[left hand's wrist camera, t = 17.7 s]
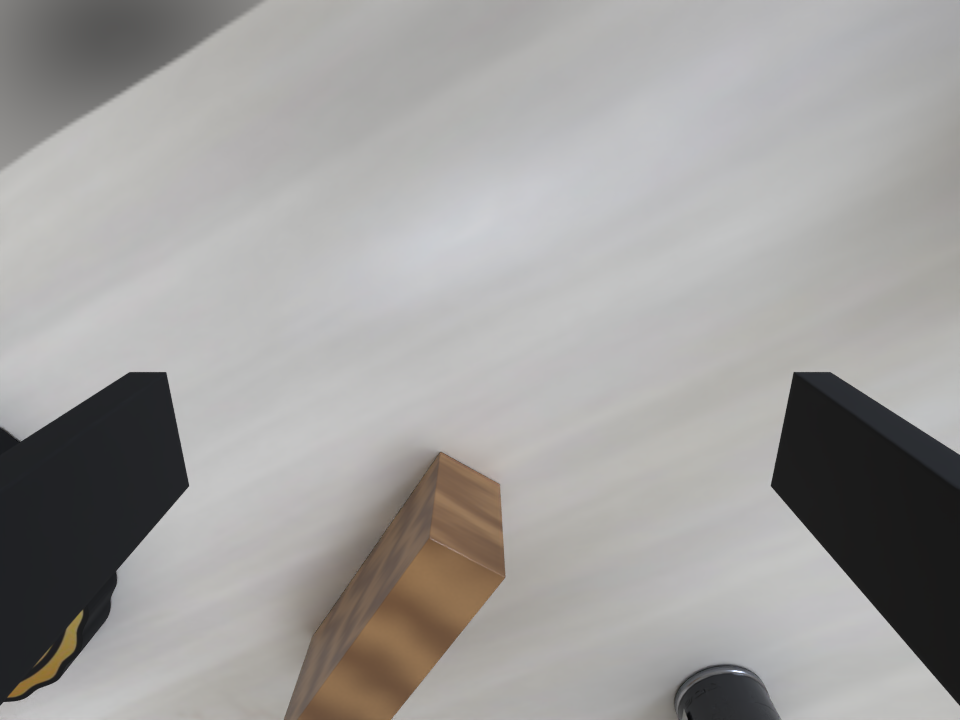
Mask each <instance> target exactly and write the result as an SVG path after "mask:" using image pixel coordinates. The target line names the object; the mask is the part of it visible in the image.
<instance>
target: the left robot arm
mask: <svg viewBox="0 0 960 720" xmlns="http://www.w3.org/2000/svg"><path fill="white" fill-rule="evenodd" d="M188 487H189V483H188V478H187V473H186V468H185V463H184V458H183V453H182V448H181V443H180V438H179V433H178V428H177V423H176V418H175V413H174V408H173V403H172V398H171V394H170V389H169V384H168V379H167V374H166V372H129V373H128V374H126V375H124V376H123V377H121V378H120V379H118V380H117V381H115V382H114V383H112V384H110V385H109V386H107V387H106V388H104V389H103V390H101V391H99V392H98V393H96V394H95V395H93V396H92V397H90V398H89V399H87V400H85V401H84V402H82V403H81V404H79V405H78V406H76V407H74V408H73V409H71V410H70V411H68V412H67V413H65V414H64V415H62V416H60V417H59V418H57V419H56V420H54V421H53V422H51V423H49V424H48V425H46V426H45V427H43V428H42V429H40V430H39V431H37V432H35V433H34V434H32V435H31V436H29V437H28V438H26V439H24V440H23V441H21V442H20V443H18V444H17V445H15V446H14V447H12V448H10V449H9V450H7V451H6V452H4V453H3V454H1V455H0V705H1V704H2V703H3V702H4V701H5V699H6V698H7V697H8V696H9V695H10V694H11V693H12V691H13V690H14V689H15V688H16V687H17V686H18V684H19V683H20V682H21V681H22V680H23V679H24V677H25V676H26V675H27V674H28V673H29V672H30V670H31V669H32V668H33V667H34V666H35V665H36V663H37V662H38V661H39V660H40V659H41V658H42V656H43V655H44V654H45V653H46V652H47V651H48V650H49V648H50V647H51V646H52V645H53V644H54V643H55V641H56V640H57V639H58V638H59V637H60V636H61V634H62V633H63V632H64V631H65V630H66V629H67V627H68V626H69V625H70V624H71V623H72V622H73V620H74V619H75V618H76V617H77V616H78V615H79V613H80V612H81V611H82V610H83V609H84V608H85V607H86V605H87V604H88V603H89V602H90V601H91V600H92V598H93V597H94V596H95V595H96V594H97V593H98V591H99V590H100V589H101V588H102V587H103V586H104V584H105V583H106V582H107V581H108V580H109V579H110V577H111V576H112V575H113V574H114V573H115V572H116V570H117V569H118V568H119V567H120V566H121V565H122V563H123V562H124V561H125V560H126V559H127V558H128V557H129V555H130V554H131V553H132V552H133V551H134V550H135V548H136V547H137V546H138V545H139V544H140V543H141V541H142V540H143V539H144V538H145V537H146V536H147V534H148V533H149V532H150V531H151V530H152V529H153V527H154V526H155V525H156V524H157V523H158V522H159V520H160V519H161V518H162V517H163V516H164V515H165V514H166V512H167V511H168V510H169V509H170V508H171V507H172V505H173V504H174V503H175V502H176V501H177V500H178V498H179V497H180V496H181V495H182V494H183V493H184V491H185V490H186V489H187V488H188ZM771 487H772V488H773V489H774V490H775V491H776V493H777V494H778V495H779V496H780V497H781V498H782V500H783V501H784V502H785V503H786V504H787V505H788V507H789V508H790V509H791V510H792V511H793V512H794V514H795V515H796V516H797V517H798V518H799V519H800V520H801V522H802V523H803V524H804V525H805V526H806V527H807V529H808V530H809V531H810V532H811V533H812V534H813V536H814V537H815V538H816V539H817V540H818V541H819V543H820V544H821V545H822V546H823V547H824V548H825V550H826V551H827V552H828V553H829V554H830V555H831V557H832V558H833V559H834V560H835V561H836V562H837V563H838V565H839V566H840V567H841V568H842V569H843V570H844V572H845V573H846V574H847V575H848V576H849V577H850V579H851V580H852V581H853V582H854V583H855V584H856V586H857V587H858V588H859V589H860V590H861V591H862V593H863V594H864V595H865V596H866V597H867V598H868V600H869V601H870V602H871V603H872V604H873V605H874V607H875V608H876V609H877V610H878V611H879V612H880V613H881V615H882V616H883V617H884V618H885V619H886V620H887V622H888V623H889V624H890V625H891V626H892V627H893V629H894V630H895V631H896V632H897V633H898V634H899V636H900V637H901V638H902V639H903V640H904V641H905V643H906V644H907V645H908V646H909V647H910V648H911V650H912V651H913V652H914V653H915V654H916V655H917V656H918V658H919V659H920V660H921V661H922V662H923V663H924V665H925V666H926V667H927V668H928V669H929V670H930V672H931V673H932V674H933V675H934V676H935V677H936V679H937V680H938V681H939V682H940V683H941V684H942V686H943V687H944V688H945V689H946V690H947V691H948V693H949V694H950V695H951V696H952V697H953V698H954V699H955V701H956V702H957V703H958V704H959V705H960V455H959V454H957V453H956V452H954V451H953V450H951V449H950V448H948V447H946V446H945V445H943V444H942V443H940V442H939V441H937V440H936V439H934V438H932V437H931V436H929V435H928V434H926V433H925V432H923V431H921V430H920V429H918V428H917V427H915V426H914V425H912V424H911V423H909V422H907V421H906V420H904V419H903V418H901V417H900V416H898V415H896V414H895V413H893V412H892V411H890V410H889V409H887V408H886V407H884V406H882V405H881V404H879V403H878V402H876V401H875V400H873V399H871V398H870V397H868V396H867V395H865V394H864V393H862V392H861V391H859V390H857V389H856V388H854V387H853V386H851V385H850V384H848V383H846V382H845V381H843V380H842V379H840V378H839V377H837V376H836V375H834V374H832V373H831V372H794V374H793V379H792V384H791V389H790V394H789V398H788V403H787V408H786V413H785V418H784V423H783V428H782V433H781V438H780V443H779V448H778V453H777V458H776V463H775V468H774V473H773V478H772V483H771Z"/></svg>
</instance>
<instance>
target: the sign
mask: <svg viewBox="0 0 960 720" xmlns="http://www.w3.org/2000/svg"><path fill="white" fill-rule="evenodd" d="M18 443H19V442H18V441H16V440H15V439H14V438H12V437H11V436H10V435H9V434H7V433H6V432H5V431H3V430H2V429H0V455H1V454H3V453H4V452H6V451H7V450H9V449H10V448H12V447H14V446H15V445H17V444H18ZM116 581H117V579H116V573H114V574H113V575H112V576H111V577H110V579H109V580H108V581H107V582H106V583H105V584H104V586H103V587H102V588H101V589H100V590H99V591H98V593H97V594H96V595H95V596H94V597H93V598H92V600H91V601H90V602H89V603H88V604H87V605H86V607H85V608H84V609H83V610H82V611H81V612H80V613H79V615H78V616H77V617H76V618H75V619H74V620H73V622H72V623H71V624H70V625H69V626H68V627H67V629H66V630H65V631H64V632H63V633H62V634H61V636H60V637H59V638H58V639H57V640H56V641H55V643H54V644H53V645H52V646H51V647H50V648H49V650H48V651H47V652H46V653H45V654H44V655H43V656H42V658H41V659H40V660H39V661H38V662H37V663H36V665H35V666H34V667H33V668H32V669H31V670H30V672H29V673H28V674H27V675H26V676H25V677H24V679H23V680H22V681H21V682H20V683H19V684H18V686H17V687H16V688H15V689H14V690H13V691H12V693H11V694H10V695H9V696H8V697H7V698H6V699H5V701H4V702H11V701H18V700H22V699H24V698H26V697H28V696H29V695H31V694H32V693H33V692H34V691H35V690H37V689H39V688H41V687H44V686H47V685H50V684H52V683H54V682H56V681H57V680H59V678H60V677H61V676H62V675H63V673H64V672H65V671H66V670H67V668H68V667H69V666H70V665H71V663H72V662H73V661H74V660H75V658H76V657H77V656H78V655H79V654H80V652H81V651H82V650H83V648H84V647H85V646H86V645H87V643H88V642H89V641H90V640H91V638H92V637H93V636H94V635H95V633H96V632H97V631H98V630H99V628H100V627H101V626H102V624H103V623H104V622H105V621H106V619H107V618H108V615H109V612H110V598H111V595H112V593H113V591H114V589H115V587H116Z"/></svg>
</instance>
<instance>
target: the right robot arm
mask: <svg viewBox="0 0 960 720" xmlns="http://www.w3.org/2000/svg"><path fill="white" fill-rule="evenodd" d="M675 711H676V714H677V716H678V719H679V720H781V718H780V716H779V715H778V713H777V711H776V709H775V707H774V705H773V703H772V701H771V699H770V697H769V694H768V692H767V690H766V688H765V686H764V684H763V682H762V681H761V679H760V678H759V677H758V676H757V675H755V674H754V673H752V672H751V671H749V670H746V669H744V668H740V667H735V666H719V667H713V668H709V669H706V670H703V671H701V672H699V673H697V674H695V675H693V676H692V677H690V678H689V679H688V680H687V681H685V682H684V684H683V685H682V686H681V687H680V689H679V690H678V692H677V694H676V697H675Z"/></svg>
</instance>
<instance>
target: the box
mask: <svg viewBox="0 0 960 720" xmlns="http://www.w3.org/2000/svg"><path fill="white" fill-rule="evenodd" d="M504 578H505V563H504V546H503V529H502V512H501V495H500V484H498V483H496V482H494V481H492V480H491V479H489V478H487V477H485V476H483V475H482V474H480V473H478V472H476V471H474V470H473V469H471V468H469V467H467V466H465V465H463V464H462V463H460V462H458V461H456V460H454V459H453V458H451V457H449V456H447V455H445V454H444V453H442V452H440V453H439V455H438V456H437V458H436V459H435V461H434V462H433V463H432V465H431V466H430V468H429V469H428V471H427V472H426V474H425V475H424V476H423V478H422V479H421V481H420V482H419V484H418V485H417V487H416V488H415V489H414V491H413V492H412V494H411V495H410V497H409V498H408V500H407V501H406V502H405V504H404V505H403V507H402V508H401V510H400V511H399V513H398V514H397V515H396V517H395V518H394V520H393V521H392V523H391V524H390V526H389V527H388V528H387V530H386V531H385V533H384V534H383V536H382V537H381V539H380V540H379V541H378V543H377V544H376V546H375V547H374V549H373V550H372V552H371V553H370V554H369V556H368V557H367V559H366V560H365V562H364V563H363V565H362V566H361V568H360V569H359V570H358V572H357V573H356V575H355V576H354V578H353V579H352V581H351V582H350V583H349V585H348V586H347V588H346V589H345V591H344V592H343V594H342V595H341V596H340V598H339V599H338V601H337V602H336V604H335V605H334V607H333V608H332V609H331V611H330V612H329V614H328V615H327V617H326V618H325V620H324V621H323V622H322V624H321V625H320V627H319V628H318V630H317V631H316V633H315V634H314V635H313V637H312V639H311V642H310V645H309V648H308V651H307V654H306V657H305V660H304V662H303V665H302V668H301V671H300V674H299V677H298V680H297V683H296V686H295V689H294V692H293V694H292V697H291V700H290V703H289V706H288V709H287V712H286V715H285V718H284V720H391V719H392V718H393V716H394V715H395V714H396V713H397V711H398V710H399V709H400V708H401V707H402V705H403V704H404V703H405V702H406V700H407V699H408V698H409V697H410V695H411V694H412V693H413V692H414V690H415V689H416V688H417V687H418V685H419V684H420V683H421V682H422V680H423V679H424V678H425V677H426V675H427V674H428V673H429V672H430V670H431V669H432V668H433V667H434V665H435V664H436V663H437V662H438V660H439V659H440V658H441V657H442V655H443V654H444V653H445V652H446V651H447V649H448V648H449V647H450V646H451V644H452V643H453V642H454V641H455V639H456V638H457V637H458V636H459V634H460V633H461V632H462V631H463V629H464V628H465V627H466V626H467V624H468V623H469V622H470V621H471V619H472V618H473V617H474V616H475V614H476V613H477V612H478V611H479V609H480V608H481V607H482V606H483V604H484V603H485V602H486V601H487V600H488V598H489V597H490V596H491V595H492V593H493V592H494V591H495V590H496V588H497V587H498V586H499V585H500V583H501V582H502V581H503V580H504Z"/></svg>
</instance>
